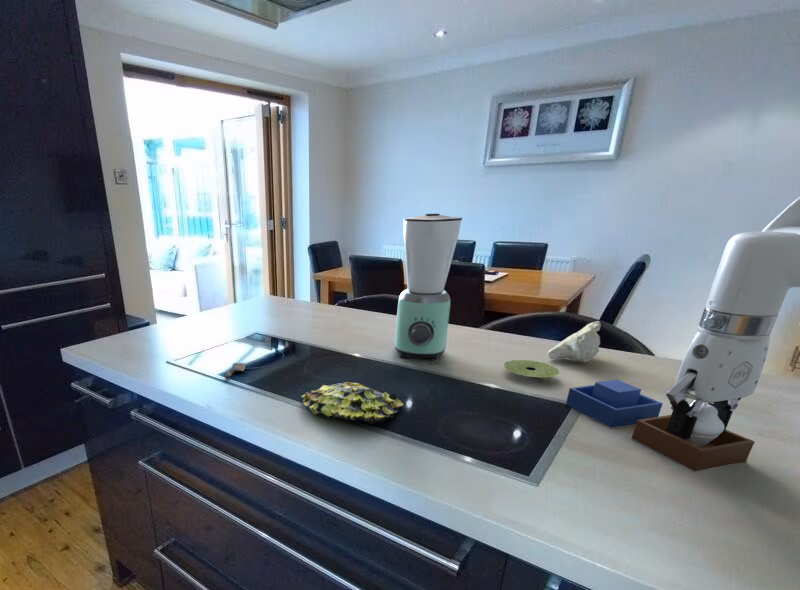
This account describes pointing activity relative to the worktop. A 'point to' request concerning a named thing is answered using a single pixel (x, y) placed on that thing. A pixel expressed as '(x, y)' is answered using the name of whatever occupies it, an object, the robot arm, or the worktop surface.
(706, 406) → the muffin
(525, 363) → the green disc
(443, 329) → the blender
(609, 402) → the blue block
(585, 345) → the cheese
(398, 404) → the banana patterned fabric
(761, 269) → the robot arm
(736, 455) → the brown bin
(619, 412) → the blue bin
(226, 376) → the meat cleaver
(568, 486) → the worktop surface
